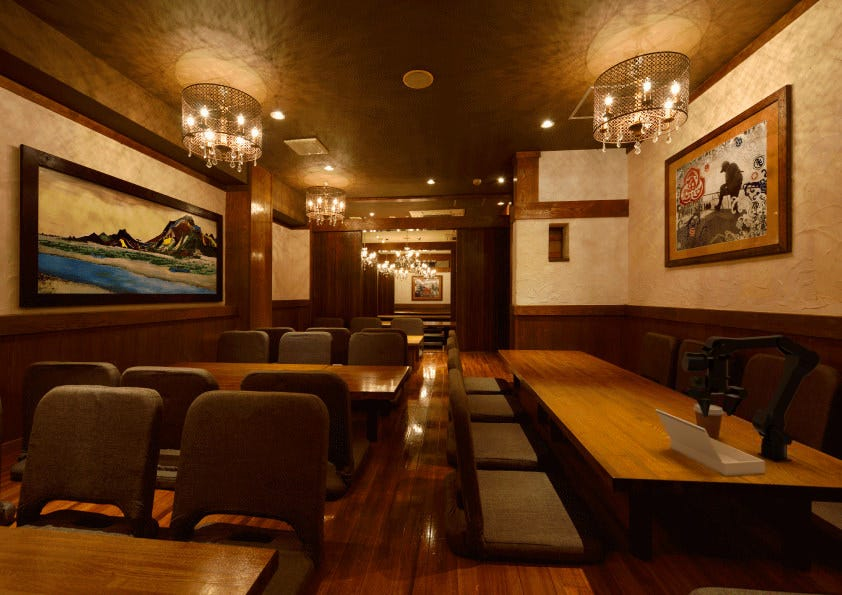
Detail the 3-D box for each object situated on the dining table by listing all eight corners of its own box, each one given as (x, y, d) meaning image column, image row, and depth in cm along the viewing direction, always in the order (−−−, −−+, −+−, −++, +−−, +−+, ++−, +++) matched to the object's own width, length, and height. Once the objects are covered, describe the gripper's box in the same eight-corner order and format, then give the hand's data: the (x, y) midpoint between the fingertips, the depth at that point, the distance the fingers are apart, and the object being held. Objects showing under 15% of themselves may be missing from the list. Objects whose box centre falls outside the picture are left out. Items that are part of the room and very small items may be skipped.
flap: (656, 408, 139) (655, 409, 138) (705, 428, 118) (703, 429, 118) (671, 437, 139) (669, 437, 139) (722, 461, 119) (720, 462, 119)
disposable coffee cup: (697, 439, 148) (698, 409, 148) (690, 431, 157) (690, 402, 157) (727, 443, 145) (728, 411, 145) (718, 434, 154) (718, 404, 154)
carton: (704, 446, 142) (704, 435, 142) (764, 473, 120) (765, 461, 120) (670, 447, 140) (670, 437, 140) (724, 476, 118) (724, 463, 118)
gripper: (720, 367, 145) (720, 408, 145) (675, 368, 142) (675, 410, 142) (749, 373, 133) (748, 418, 134) (700, 375, 131) (700, 420, 131)
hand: (717, 416), depth 136 cm, fingers open, 9 cm apart
